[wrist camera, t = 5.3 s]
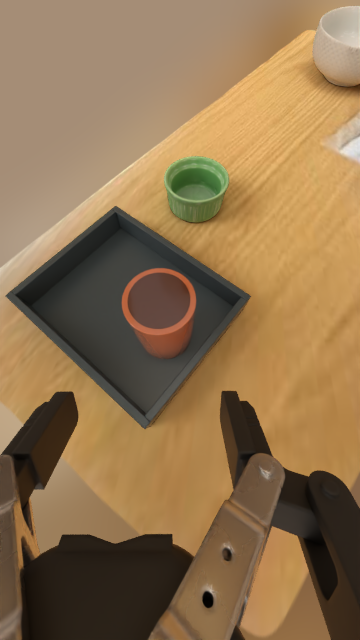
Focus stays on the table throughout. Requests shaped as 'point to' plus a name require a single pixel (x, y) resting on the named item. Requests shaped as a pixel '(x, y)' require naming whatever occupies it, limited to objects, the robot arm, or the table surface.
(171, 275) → the cup
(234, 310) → the tray
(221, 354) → the table surface
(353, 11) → the cereal bowl
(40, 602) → the robot arm
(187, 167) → the ramekin
